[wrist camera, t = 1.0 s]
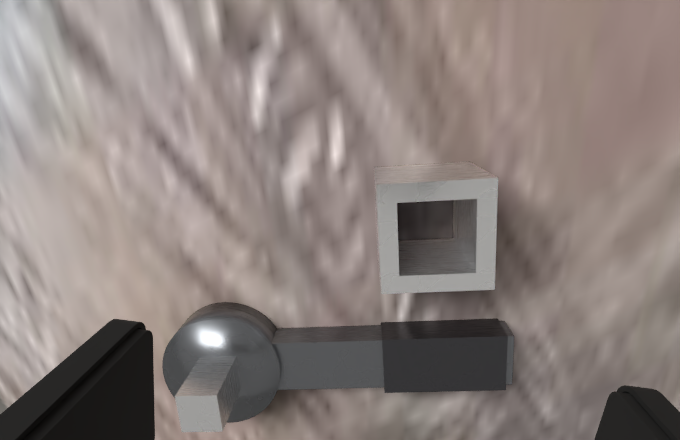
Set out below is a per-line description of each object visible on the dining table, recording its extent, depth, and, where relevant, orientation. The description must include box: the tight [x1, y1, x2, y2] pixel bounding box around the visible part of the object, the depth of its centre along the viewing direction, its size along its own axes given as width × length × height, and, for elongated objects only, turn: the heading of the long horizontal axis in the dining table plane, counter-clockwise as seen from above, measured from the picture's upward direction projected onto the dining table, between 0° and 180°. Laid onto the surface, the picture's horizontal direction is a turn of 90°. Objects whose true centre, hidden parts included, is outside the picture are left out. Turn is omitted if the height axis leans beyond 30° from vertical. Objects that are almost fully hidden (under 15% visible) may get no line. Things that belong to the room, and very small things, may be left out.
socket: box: [374, 161, 498, 294], centre depth 25 cm, size 6×6×6 cm
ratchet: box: [163, 302, 514, 432], centre depth 28 cm, size 24×8×6 cm, turn 94°
